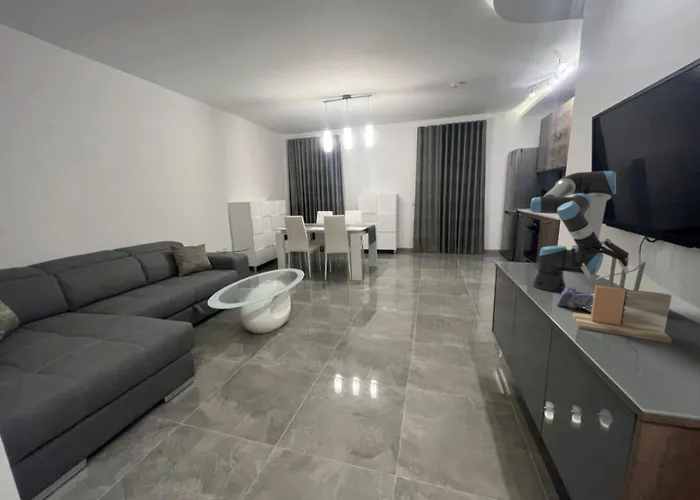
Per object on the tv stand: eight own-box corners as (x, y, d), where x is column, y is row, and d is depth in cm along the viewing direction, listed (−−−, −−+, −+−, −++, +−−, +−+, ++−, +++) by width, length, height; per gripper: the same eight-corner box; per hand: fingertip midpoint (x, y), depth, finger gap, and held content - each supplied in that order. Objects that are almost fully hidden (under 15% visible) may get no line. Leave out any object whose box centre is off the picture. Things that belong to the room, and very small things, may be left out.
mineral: (563, 289, 133) (557, 281, 143) (558, 308, 136) (552, 300, 145) (603, 296, 128) (594, 288, 138) (596, 316, 131) (588, 306, 140)
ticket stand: (572, 315, 128) (576, 280, 125) (654, 327, 115) (661, 289, 113) (578, 328, 116) (583, 290, 113) (671, 343, 103) (679, 300, 100)
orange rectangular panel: (590, 318, 120) (595, 285, 117) (618, 322, 116) (623, 288, 113) (591, 320, 118) (596, 287, 115) (620, 324, 114) (625, 290, 111)
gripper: (550, 246, 136) (573, 283, 138) (617, 231, 115) (643, 275, 117) (555, 238, 140) (577, 273, 142) (621, 221, 119) (646, 264, 121)
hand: (607, 274), depth 130 cm, fingers open, 13 cm apart
